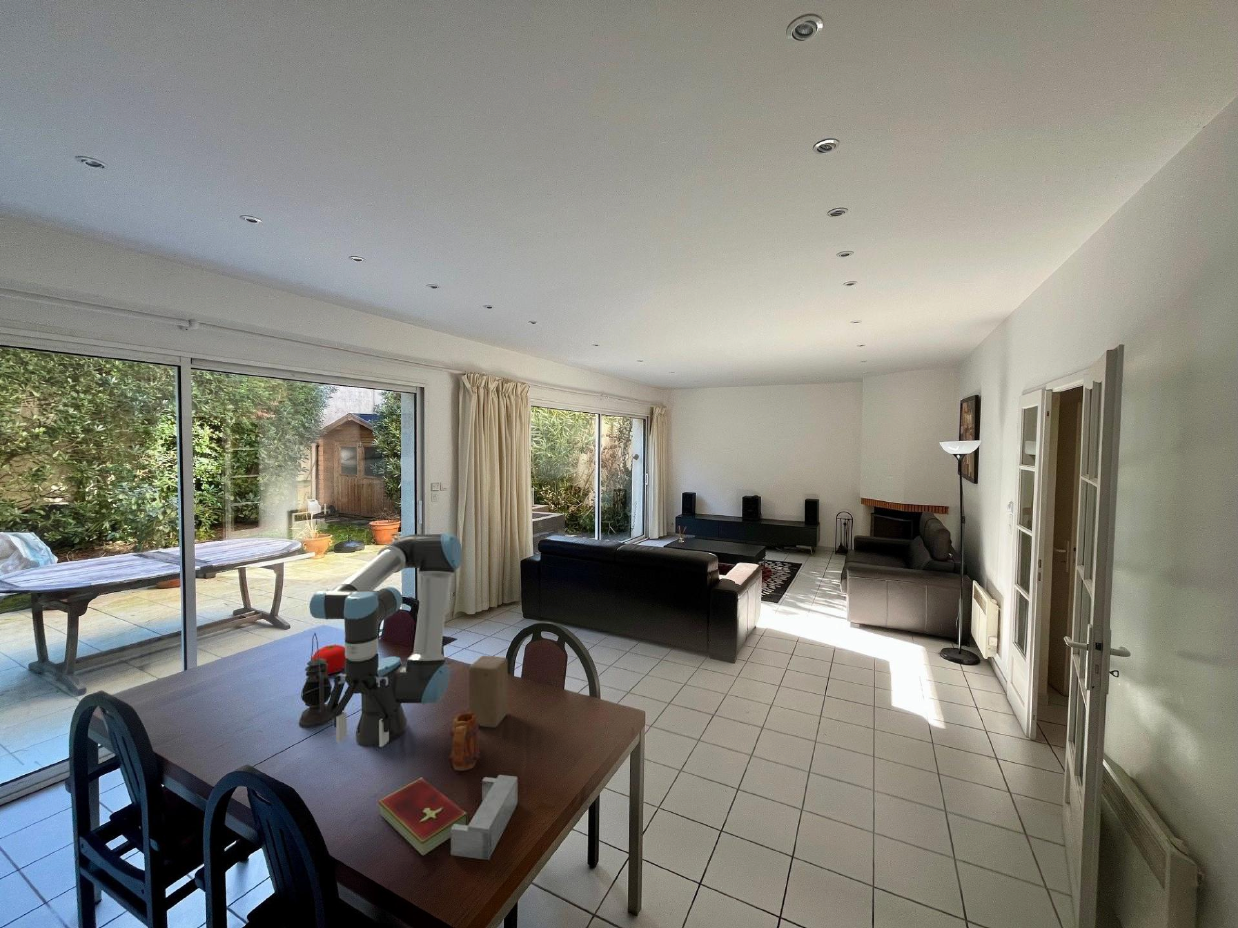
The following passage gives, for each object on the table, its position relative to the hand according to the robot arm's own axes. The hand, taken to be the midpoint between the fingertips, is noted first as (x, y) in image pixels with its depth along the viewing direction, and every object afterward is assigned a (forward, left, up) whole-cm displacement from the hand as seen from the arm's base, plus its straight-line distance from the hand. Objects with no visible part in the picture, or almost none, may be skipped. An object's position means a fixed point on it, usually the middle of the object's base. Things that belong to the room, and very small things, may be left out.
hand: (362, 741), depth 124 cm
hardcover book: (+16, 0, -19) cm, 25 cm away
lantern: (-45, +37, -18) cm, 61 cm away
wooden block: (+13, +46, -18) cm, 51 cm away
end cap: (+32, 0, -18) cm, 37 cm away
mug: (+17, +19, -18) cm, 32 cm away
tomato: (-67, +71, -18) cm, 100 cm away
